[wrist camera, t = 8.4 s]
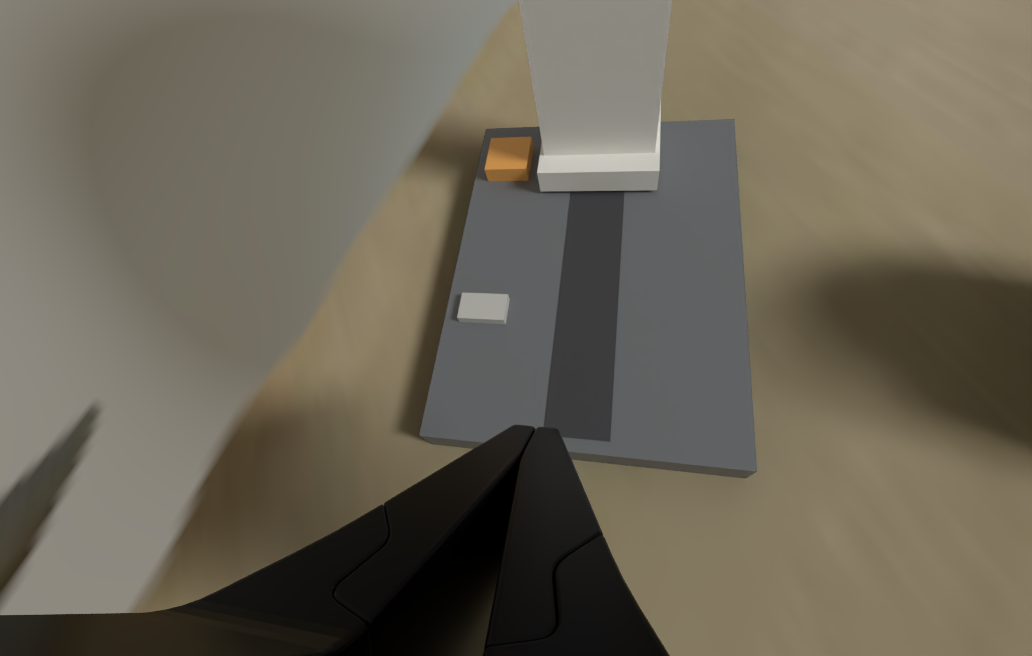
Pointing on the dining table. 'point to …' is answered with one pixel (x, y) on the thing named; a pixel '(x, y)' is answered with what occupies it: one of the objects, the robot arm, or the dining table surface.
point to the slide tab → (597, 90)
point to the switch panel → (603, 311)
